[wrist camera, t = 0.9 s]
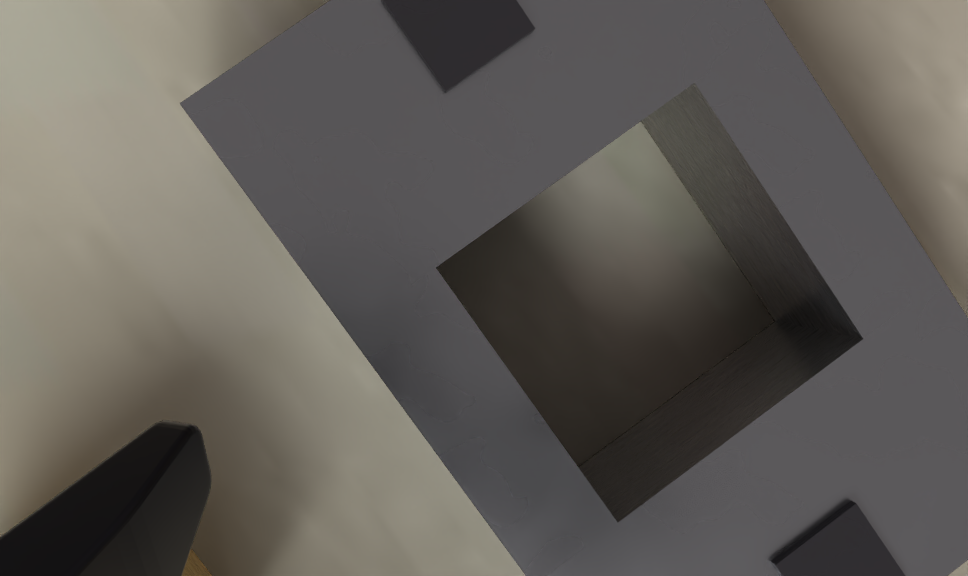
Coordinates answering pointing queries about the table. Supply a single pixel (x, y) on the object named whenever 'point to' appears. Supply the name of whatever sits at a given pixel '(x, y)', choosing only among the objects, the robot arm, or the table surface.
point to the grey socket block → (726, 205)
